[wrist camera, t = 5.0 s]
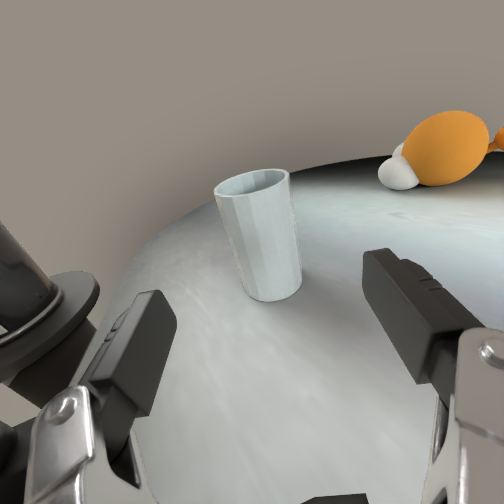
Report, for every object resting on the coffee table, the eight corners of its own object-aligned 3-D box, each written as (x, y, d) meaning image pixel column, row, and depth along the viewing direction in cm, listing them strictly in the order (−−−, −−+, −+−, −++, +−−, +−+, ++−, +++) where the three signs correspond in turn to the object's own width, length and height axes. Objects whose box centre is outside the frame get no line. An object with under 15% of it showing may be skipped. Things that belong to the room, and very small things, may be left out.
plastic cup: (248, 309, 21) (214, 204, 15) (241, 270, 26) (213, 181, 20) (311, 291, 21) (299, 181, 16) (292, 257, 26) (277, 164, 20)
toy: (485, 182, 35) (378, 161, 39) (546, 110, 28) (406, 94, 32) (497, 220, 29) (371, 191, 34) (577, 143, 22) (402, 119, 26)
